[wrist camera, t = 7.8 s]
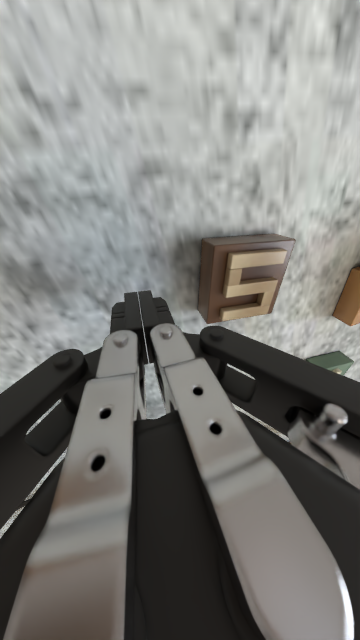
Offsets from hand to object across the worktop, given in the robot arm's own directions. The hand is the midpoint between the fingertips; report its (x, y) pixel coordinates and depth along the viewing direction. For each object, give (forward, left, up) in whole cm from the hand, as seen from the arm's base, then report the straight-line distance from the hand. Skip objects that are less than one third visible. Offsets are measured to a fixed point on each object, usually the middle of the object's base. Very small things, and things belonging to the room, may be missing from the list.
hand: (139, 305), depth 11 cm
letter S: (+8, 0, -3) cm, 9 cm away
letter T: (+25, -17, -3) cm, 30 cm away
